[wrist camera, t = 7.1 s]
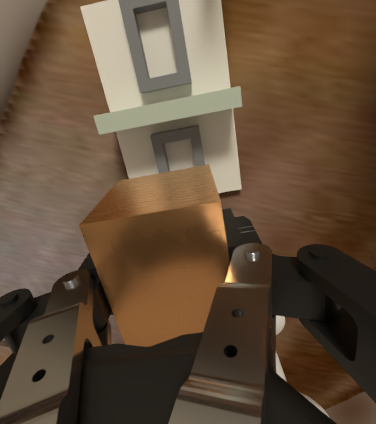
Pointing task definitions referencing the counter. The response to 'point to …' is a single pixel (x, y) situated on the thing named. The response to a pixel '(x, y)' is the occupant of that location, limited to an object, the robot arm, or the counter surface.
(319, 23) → the counter surface
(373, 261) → the counter surface
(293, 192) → the counter surface
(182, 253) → the orange brown block
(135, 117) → the plate
